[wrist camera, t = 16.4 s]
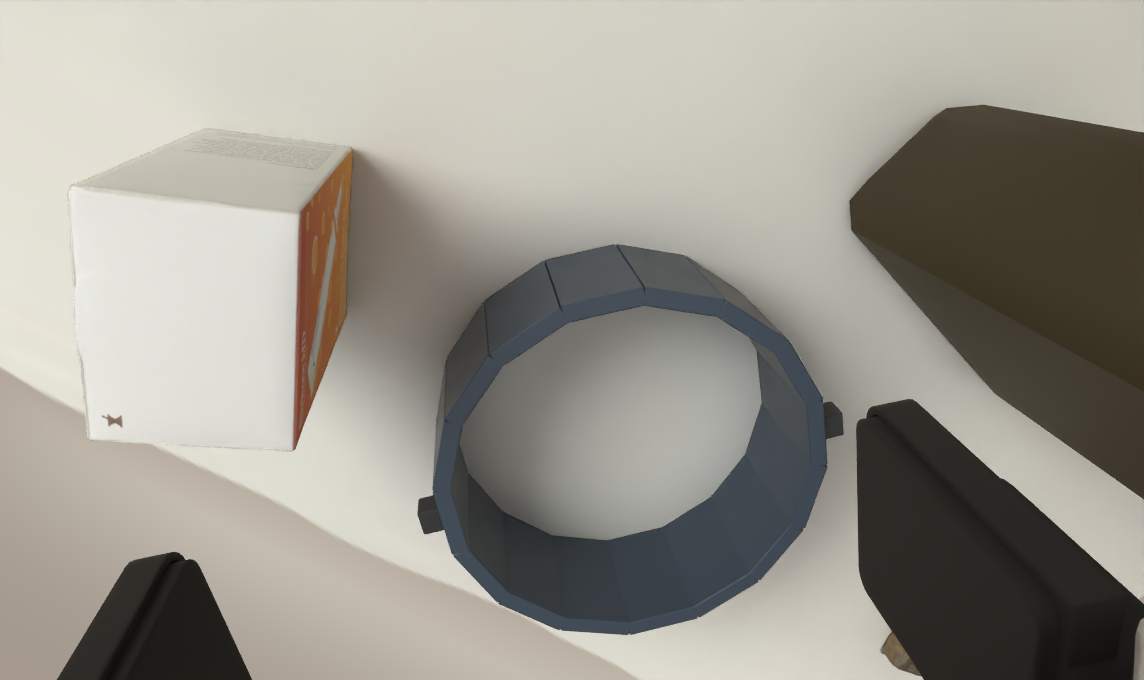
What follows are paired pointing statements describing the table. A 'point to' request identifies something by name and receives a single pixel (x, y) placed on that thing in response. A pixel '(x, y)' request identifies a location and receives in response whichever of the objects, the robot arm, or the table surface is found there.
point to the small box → (210, 289)
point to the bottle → (1027, 265)
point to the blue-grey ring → (653, 558)
